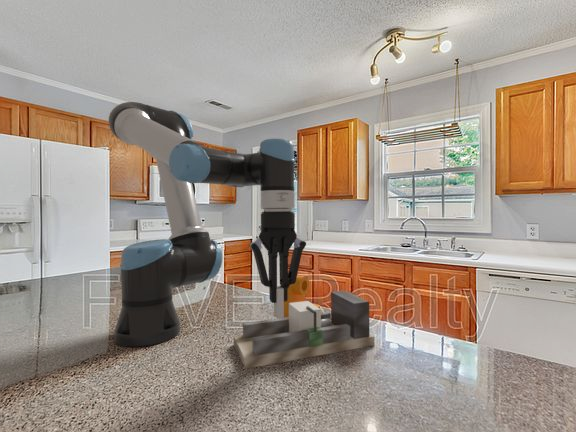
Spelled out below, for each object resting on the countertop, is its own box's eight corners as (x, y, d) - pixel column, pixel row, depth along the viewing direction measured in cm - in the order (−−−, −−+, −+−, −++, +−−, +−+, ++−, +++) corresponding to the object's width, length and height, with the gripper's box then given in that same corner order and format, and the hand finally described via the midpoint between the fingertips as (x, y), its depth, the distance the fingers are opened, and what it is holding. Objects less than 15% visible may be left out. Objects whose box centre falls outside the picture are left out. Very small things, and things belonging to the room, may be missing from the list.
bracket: (303, 325, 86) (302, 281, 86) (280, 320, 90) (280, 278, 90) (321, 314, 95) (321, 274, 95) (300, 310, 99) (300, 271, 99)
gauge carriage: (304, 347, 67) (304, 313, 66) (288, 331, 76) (288, 301, 75) (342, 341, 70) (342, 308, 70) (323, 326, 79) (322, 297, 78)
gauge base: (245, 369, 62) (244, 318, 62) (233, 344, 74) (233, 301, 73) (374, 345, 73) (374, 301, 72) (347, 327, 84) (347, 289, 84)
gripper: (253, 210, 65) (254, 326, 65) (311, 210, 69) (312, 318, 70) (245, 210, 72) (246, 314, 72) (298, 210, 76) (299, 308, 77)
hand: (278, 316), depth 71 cm, fingers closed
